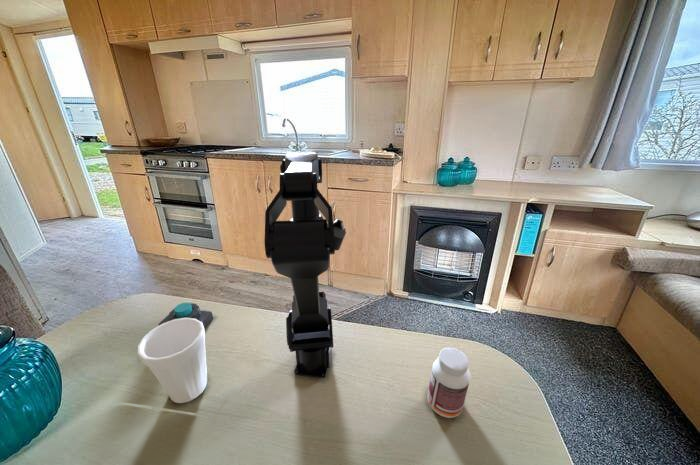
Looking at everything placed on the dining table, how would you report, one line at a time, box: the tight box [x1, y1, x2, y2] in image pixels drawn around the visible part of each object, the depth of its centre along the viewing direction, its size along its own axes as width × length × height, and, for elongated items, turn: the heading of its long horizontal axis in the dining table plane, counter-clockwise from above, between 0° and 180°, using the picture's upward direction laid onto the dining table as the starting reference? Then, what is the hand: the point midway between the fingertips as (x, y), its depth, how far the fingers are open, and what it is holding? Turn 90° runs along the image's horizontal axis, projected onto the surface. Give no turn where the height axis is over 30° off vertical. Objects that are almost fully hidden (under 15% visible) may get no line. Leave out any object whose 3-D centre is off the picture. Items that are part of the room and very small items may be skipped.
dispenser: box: [157, 302, 214, 329], centre depth 68 cm, size 10×6×4 cm, turn 82°
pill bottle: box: [427, 347, 471, 419], centre depth 48 cm, size 6×6×11 cm
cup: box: [136, 318, 208, 404], centre depth 50 cm, size 10×10×13 cm
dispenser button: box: [173, 302, 193, 318], centre depth 67 cm, size 4×4×2 cm
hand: (309, 275), depth 66 cm, fingers closed
